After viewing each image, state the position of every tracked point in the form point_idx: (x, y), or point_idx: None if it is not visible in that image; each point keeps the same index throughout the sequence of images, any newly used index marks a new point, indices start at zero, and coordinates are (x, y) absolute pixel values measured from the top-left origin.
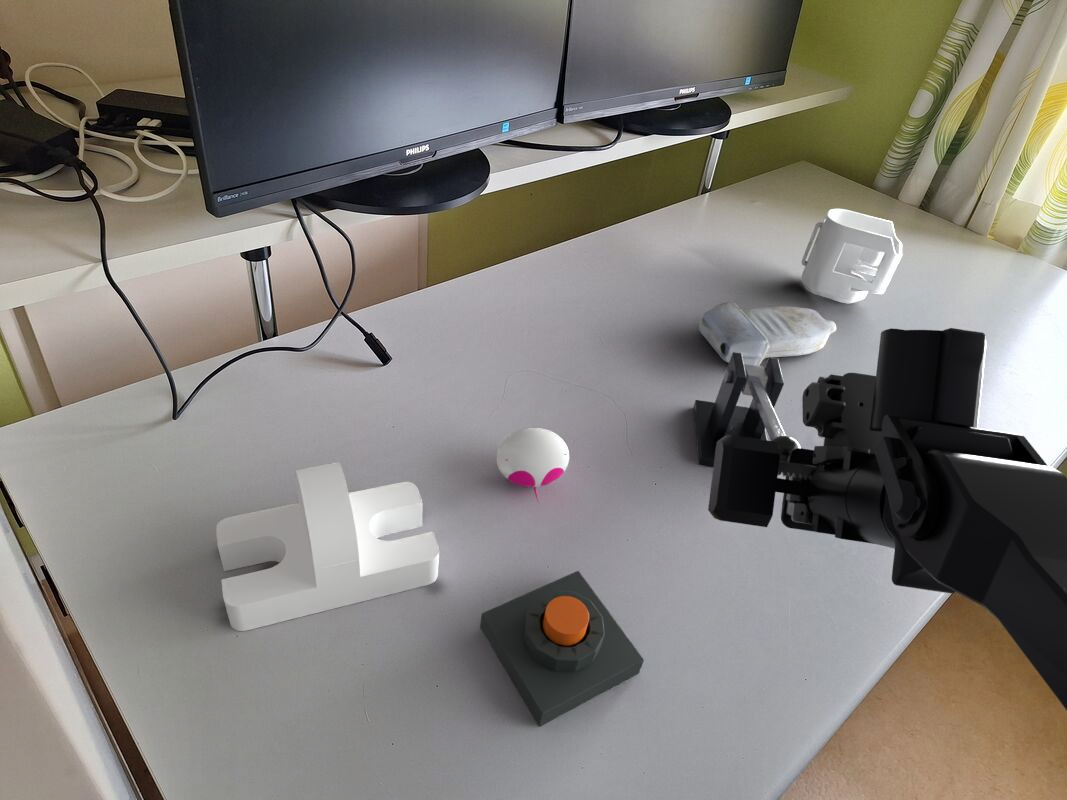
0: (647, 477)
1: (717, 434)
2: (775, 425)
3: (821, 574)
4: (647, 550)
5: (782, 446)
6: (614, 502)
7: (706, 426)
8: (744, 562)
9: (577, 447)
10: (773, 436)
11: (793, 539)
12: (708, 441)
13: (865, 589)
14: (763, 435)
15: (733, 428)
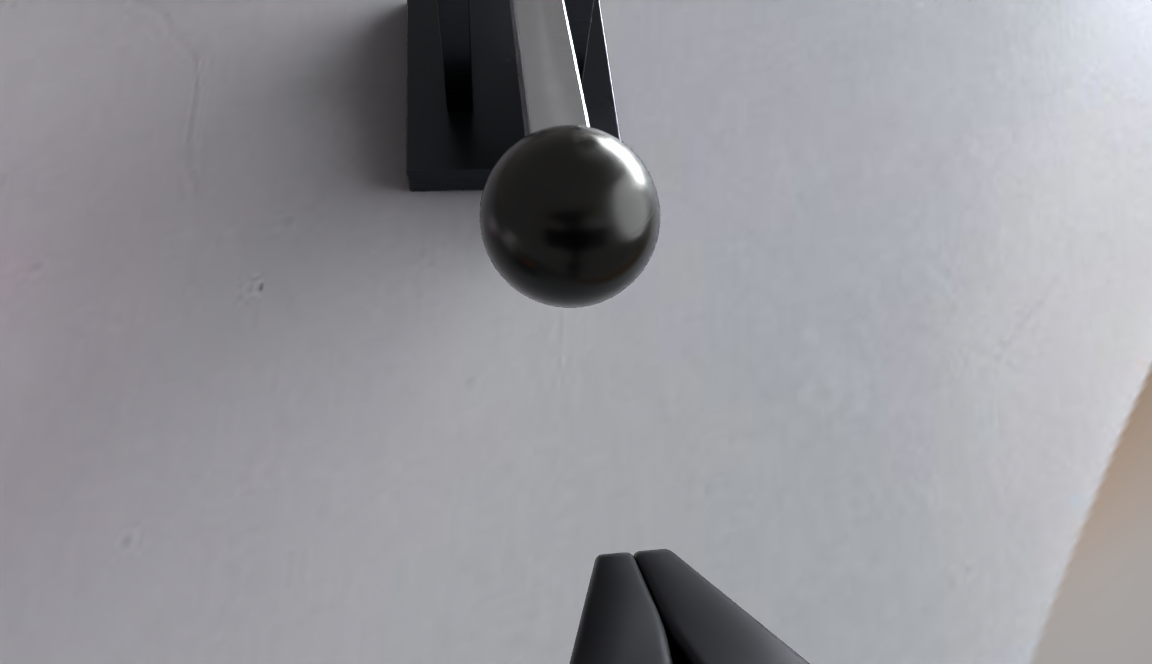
0: (237, 267)
1: (449, 86)
2: (546, 55)
3: (770, 515)
4: (195, 570)
5: (537, 209)
6: (104, 391)
7: (431, 60)
8: (531, 532)
9: (10, 199)
10: (526, 123)
11: (686, 401)
12: (433, 110)
13: (900, 538)
14: (600, 62)
15: (513, 53)
